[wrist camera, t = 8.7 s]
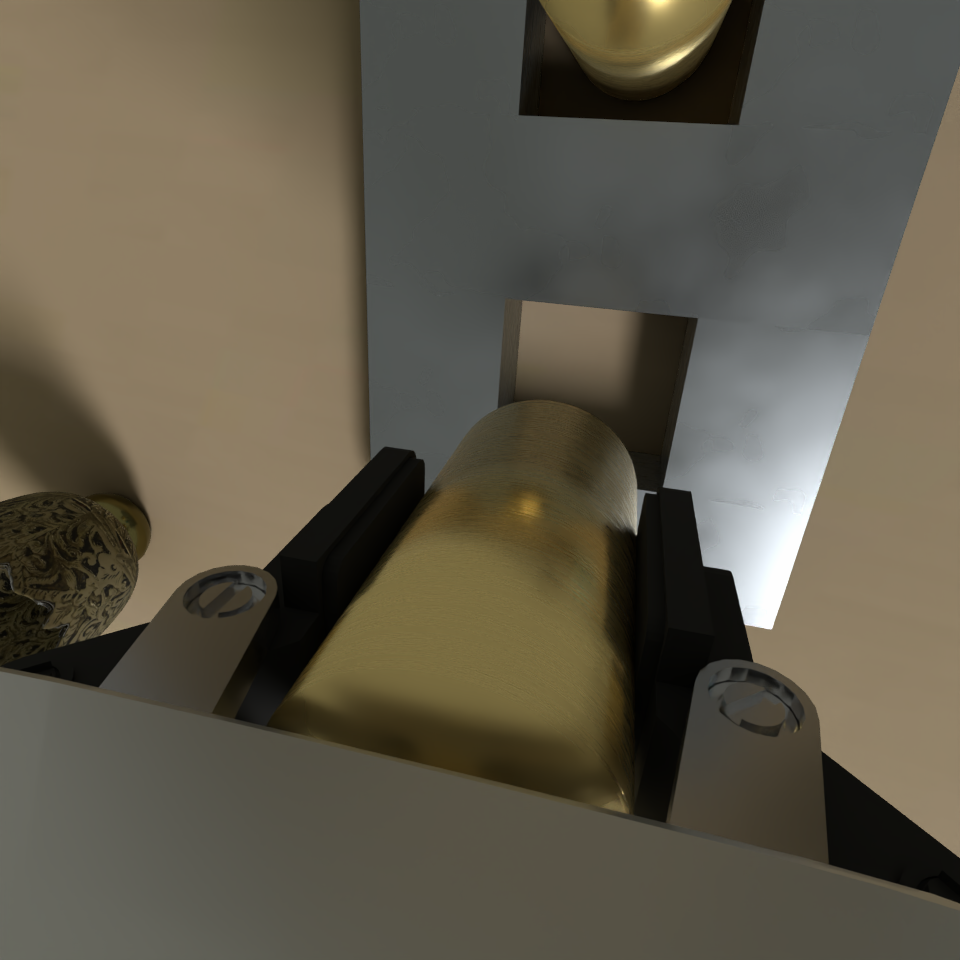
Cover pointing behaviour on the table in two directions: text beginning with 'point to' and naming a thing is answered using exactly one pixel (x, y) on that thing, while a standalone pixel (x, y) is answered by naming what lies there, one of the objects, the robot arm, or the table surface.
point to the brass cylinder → (498, 618)
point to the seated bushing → (638, 41)
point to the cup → (65, 568)
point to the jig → (650, 239)
